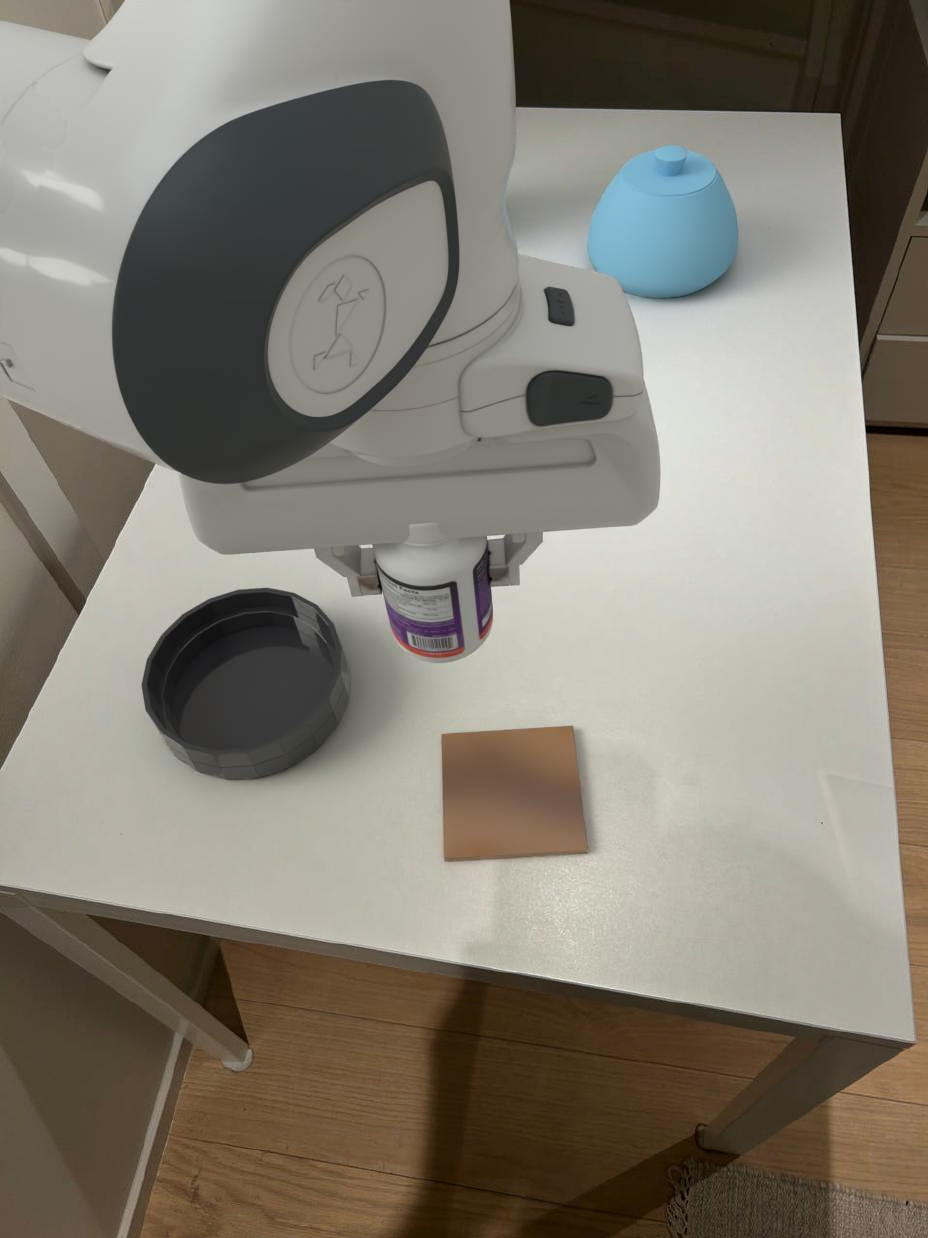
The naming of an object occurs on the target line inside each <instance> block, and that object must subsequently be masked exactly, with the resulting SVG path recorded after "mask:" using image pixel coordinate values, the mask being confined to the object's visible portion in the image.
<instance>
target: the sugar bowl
mask: <svg viewBox="0 0 928 1238" xmlns="http://www.w3.org/2000/svg"><path fill="white" fill-rule="evenodd" d="M735 207H736V206H735V203H734V201H733V198H732V196H731V193H730V192H729V188H728V187H727V184H726V183H725V181H724V178H723V176H722V175H721V173H720V172H719V170H718V169H717V167H716V165H715V164H714V163H713V162H712V161H711V160H710V159H709V158H707V157H706V156H704V155H702V154H700V153H699V152H695V151H692V150H687V149H686V148H685V147H683V146H680V145H675V144H667V145H663V146H660V147H657V149H653V150H648V151H645V152H641V153H639V154H637V155H636V156H634V157H632V158H631V159H629V160H628V161H627V162H626V163H625V164H624V165H623V166H622V167H621V168H620V170H619V171H618V172H617V173H616V174H615V176H614V177H613V179H612V180H611V181H610V183H609V184H608V186H607V187H606V189H605V190H604V191H603V193H602V195H601V197H600V199H599V200H598V202H597V205H596V207H595V208H594V212H593V214H592V217H591V220H590V223H589V227H588V232H587V242H586V249H587V254H588V256H589V261H590V262H591V264H592V266H593V267H594V269H595V270H596V271H597V272H601V273H604V274H607V275H610V276H612V277H614V278H615V279H616V280H617V281H618V282H619V283H620V286H621V288H622V290H623V292H624V293H627V294H630V295H633V296H637V297H643V298H649V299H671V298H679V297H683V296H687V295H692V294H694V293H696V292H699V291H701V290H703V289H705V288H707V287H708V286H709V285H711V284H712V283H713V282H715V281H716V280H717V279H718V278H720V277H721V276H723V274H725V273H726V272H727V270H728V269H729V268H730V267H731V265H732V263H733V262H734V260H735V258H736V256H737V253H738V247H739V224H738V215H737V211H736V208H735Z"/></svg>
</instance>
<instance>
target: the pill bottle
mask: <svg viewBox="0 0 928 1238" xmlns="http://www.w3.org/2000/svg"><path fill="white" fill-rule="evenodd" d="M409 532H410V535H409V537H408V539H407V540H406V541H408V542H398V543H384V544H371V545H372V548H373V552H374V557H375V561H376V565H377V569H378V574H379V578H380V582H381V586H382V595H383V599H384V603H385V604H384V605H385V608H386V613H387V616H388V621H389V626H390V630H391V633H392V636H393V639H394V640H395V642H396V643H397V645H398V646H399V647H400V648H401V649H402V650H403V651H404V652H405V653H406V654H407V655H409V656H411V657H412V658H414V659H416V660H419V661H422V662H426V663H431V664H447V663H453V662H457V661H459V660H462V659H465V658H467V657H469V656H470V655H472V654H473V653H475V652H476V651H477V650H478V649H480V648H481V647H482V646H483V644H484V643H485V642H486V641H487V639H488V638H489V636H490V633H491V631H492V628H493V623H494V605H493V594H492V587H490V579H489V564H488V556H489V555H488V542H487V540H488V536H481V537H467V538H453V539H444V538H446V536H445V535H443V534H442V533H440V531H439V526H438V524H437V523H420V524H411V525H409Z"/></svg>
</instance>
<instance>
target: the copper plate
mask: <svg viewBox="0 0 928 1238" xmlns="http://www.w3.org/2000/svg"><path fill="white" fill-rule="evenodd" d="M441 767H442V768H441V771H442V772H441V775H442V776H441V782H442V830H443V831H442V833H443V860H444V862H460V861H473V860H491V859H508V858H509V859H510V858H511V859H512V858H527V857H545V856H559V855H560V856H563V855H579V854H588V849H589V848H588V841H587V833H586V824H585V816H584V807H583V799H582V789H581V783H580V773H579V765H578V757H577V747H576V740H575V732H574V725H562V726H560V725H559V726H546V727H530V728H528V727H527V728H512V729H511V728H510V729H496V730H480V731H467V732H466V731H465V732H448V733H447V732H446V733H441Z"/></svg>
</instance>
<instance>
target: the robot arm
mask: <svg viewBox="0 0 928 1238" xmlns="http://www.w3.org/2000/svg"><path fill="white" fill-rule="evenodd" d="M510 3H511V2H510V0H124V1H123V2H122V4H121V5H120V7H119V8H118V10H117V11H116V12H115V14H114V15H113V16H112V18H110V20H109V21H108V23H106V24H105V26H104V27H103V28H102V29H101V30H100V31H99V32H98V33H97V34H96V35H95V36H94V37H93V38H92V39H87V38H82V37H78V36H74V35H68V34H65V33H59V32H55V31H51V30H46V29H42V28H37V27H34V26H28V25H25V24H19V23H15V22H11V21H6V20H2V19H0V397H2V398H5V399H7V400H9V401H12V402H14V403H16V404H18V405H20V406H23V407H25V408H27V409H29V410H31V411H34V412H36V413H39V414H40V415H43V416H45V417H48V418H49V419H52V420H54V421H57V422H59V423H60V424H62V425H64V426H67V427H70V428H71V429H73V430H76V431H78V432H80V433H82V434H84V435H86V436H89V437H91V438H93V439H96V440H99V441H100V442H103V443H105V444H107V445H109V446H112V447H114V448H116V449H119V450H121V451H124V452H126V453H129V454H131V455H133V456H135V457H139V458H141V459H143V460H145V461H147V462H150V463H153V464H155V465H158V466H160V467H163V468H165V469H168V470H171V471H175V472H177V473H178V479H179V485H180V489H181V494H182V497H183V502H184V505H185V509H186V512H187V517H188V519H189V522H190V524H191V528H192V530H193V533H194V535H195V538H196V539H197V540H198V542H200V543H201V544H202V545H204V546H206V547H208V548H209V549H211V550H213V551H214V552H216V553H218V554H221V555H225V556H227V555H242V554H256V553H270V552H272V553H273V552H285V551H286V552H287V551H299V550H314V554H315V556H316V559H318V560H319V561H320V562H322V564H325V565H326V566H327V567H329V568H330V569H331V570H333V571H334V572H336V573H337V574H339V575H340V576H341V577H343V578H346V580H347V584H348V587H349V591H350V596H351V597H352V598H356V597H364V596H375V595H376V596H377V595H383V591H382V586H381V582H380V578H379V574H378V569H377V565H376V561H375V557H374V552H373V547H361V546H367V545H368V546H370V545H372V544H384V543H398V542H408V541H406V540H407V539H408V537H409V535H410V532H409V525H411V524H420V523H437V524H438V526H439V531H440V533H442V534H443V535H445V536H446V538H444V539H453V538H467V537H481V536H487V537H493V536H503V537H500V538H492V539H491V538H490V539H487V542H488V555H489V556H488V564H489V579H490V587H491V588H493V587H510V586H511V587H513V586H520V585H521V573H520V571H521V570H520V566H522V565H523V564H524V563H525V562H526V561H527V560H528V558H530V557H531V555H533V553H534V552H535V551H536V550H537V549H538V548H539V547H540V546H541V544H542V543H543V542H544V533H549V532H563V531H576V530H589V529H590V530H592V529H606V528H620V527H632V526H633V527H634V526H637V525H639V524H640V523H641V522H643V521H644V520H645V519H646V518H648V517H649V516H650V515H652V513H654V512H655V510H656V509H657V508H658V506H659V502H660V494H661V477H662V475H661V473H662V471H661V469H662V468H661V455H660V454H661V453H660V445H659V436H658V432H657V427H656V422H655V417H654V414H653V410H652V404H651V399H650V397H649V396H650V395H649V393H648V389H647V385H646V381H645V378H644V377H645V376H644V361H643V359H644V358H643V351H642V345H641V340H640V335H639V331H638V327H637V324H636V321H635V318H634V317H635V316H634V314H633V312H632V308H631V306H630V303H629V300H628V298H627V296H626V294H625V291H623V290H622V288H621V286H620V283H619V282H618V281H617V280H616V279H615V278H614V277H612V276H610V275H607V274H604V273H601V272H598V270H592V269H586V268H582V267H578V266H573V265H567V264H563V263H559V262H554V261H549V260H546V259H541V258H537V257H533V256H529V255H525V254H522V253H519V250H518V244H517V241H516V237H515V234H514V232H513V230H512V227H511V223H510V221H509V217H508V211H507V189H508V185H509V179H510V176H511V172H512V168H513V165H514V162H515V161H514V160H515V158H516V157H515V156H516V150H517V102H516V101H517V97H516V95H517V94H516V77H515V76H516V75H515V58H514V55H515V54H514V39H513V25H512V16H511V15H512V14H511V13H512V12H511V4H510Z"/></svg>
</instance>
